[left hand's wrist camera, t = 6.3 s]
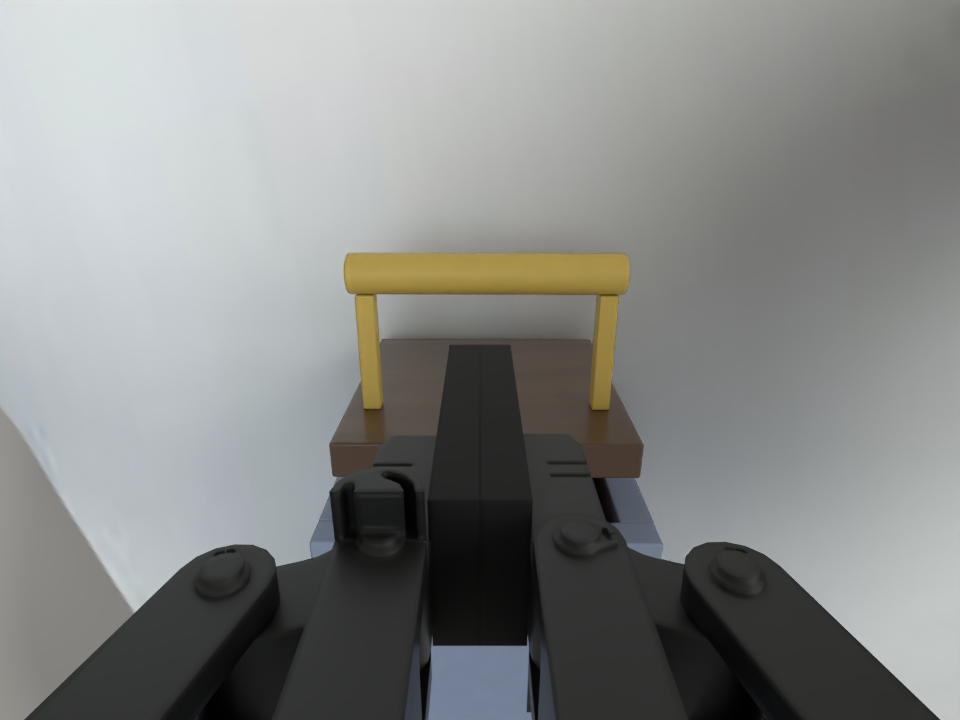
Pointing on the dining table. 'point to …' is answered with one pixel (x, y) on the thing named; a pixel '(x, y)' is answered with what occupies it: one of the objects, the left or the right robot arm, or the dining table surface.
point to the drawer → (537, 363)
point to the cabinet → (504, 669)
